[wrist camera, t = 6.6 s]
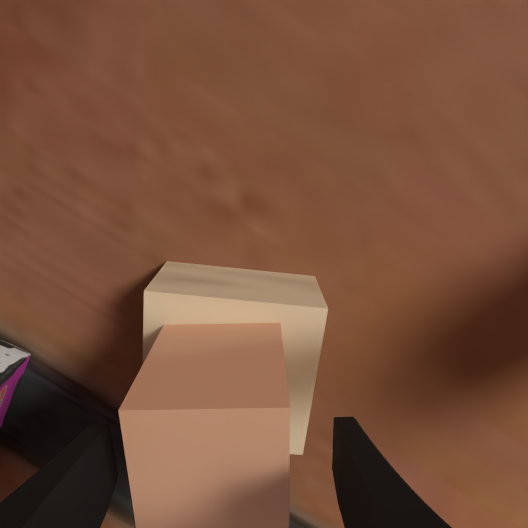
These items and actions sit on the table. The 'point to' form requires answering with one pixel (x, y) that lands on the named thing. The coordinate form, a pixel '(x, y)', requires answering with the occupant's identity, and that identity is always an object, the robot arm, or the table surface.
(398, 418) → the table surface
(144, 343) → the oak block
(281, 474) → the terracotta cube
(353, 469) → the robot arm
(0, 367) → the candy bar box
